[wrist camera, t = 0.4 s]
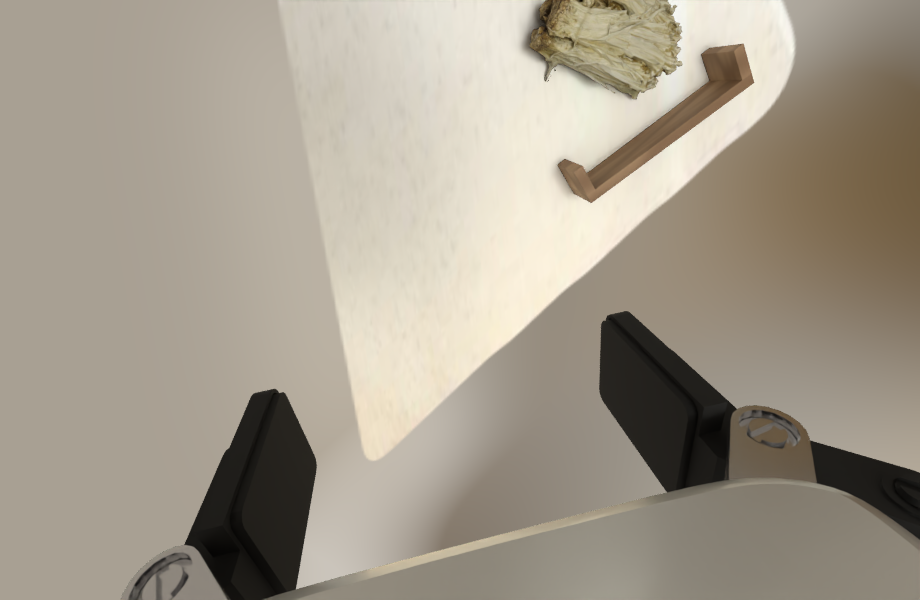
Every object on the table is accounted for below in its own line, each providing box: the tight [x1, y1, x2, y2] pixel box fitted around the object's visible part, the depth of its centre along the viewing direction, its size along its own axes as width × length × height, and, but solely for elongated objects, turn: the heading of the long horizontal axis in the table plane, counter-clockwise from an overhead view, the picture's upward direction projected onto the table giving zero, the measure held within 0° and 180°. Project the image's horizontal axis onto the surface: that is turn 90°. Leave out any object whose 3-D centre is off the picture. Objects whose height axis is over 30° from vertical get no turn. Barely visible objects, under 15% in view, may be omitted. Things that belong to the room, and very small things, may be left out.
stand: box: [558, 44, 754, 203], centre depth 42 cm, size 4×19×4 cm, turn 126°
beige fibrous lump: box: [530, 0, 682, 99], centre depth 38 cm, size 14×10×5 cm, turn 72°
